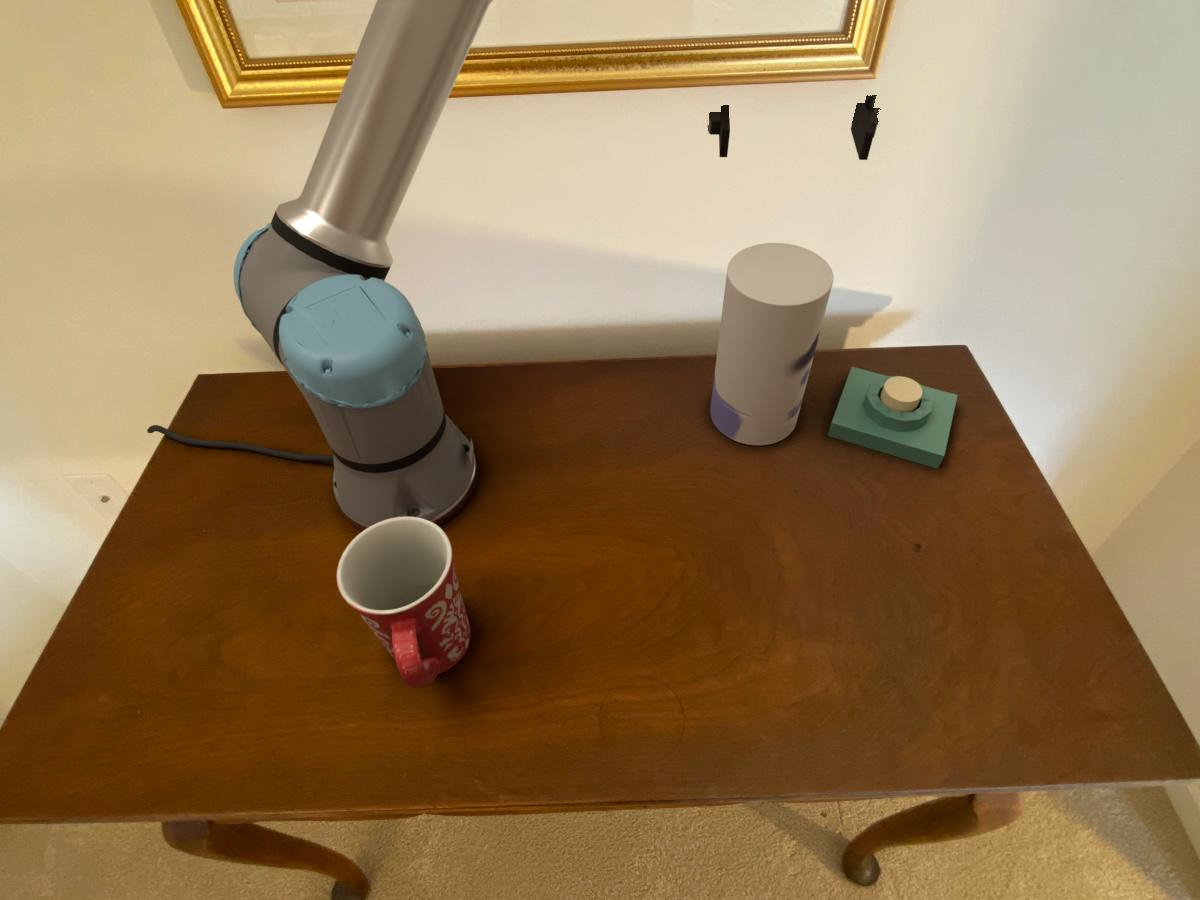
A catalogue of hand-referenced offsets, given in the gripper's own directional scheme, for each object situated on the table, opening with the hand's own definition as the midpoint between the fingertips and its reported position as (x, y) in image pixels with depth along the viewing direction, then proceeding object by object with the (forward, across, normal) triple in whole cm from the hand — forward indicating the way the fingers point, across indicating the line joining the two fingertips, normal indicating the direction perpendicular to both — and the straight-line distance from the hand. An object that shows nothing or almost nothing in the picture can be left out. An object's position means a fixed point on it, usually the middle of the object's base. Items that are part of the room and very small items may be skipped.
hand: (795, 145), depth 69 cm
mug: (+43, +31, -28) cm, 60 cm away
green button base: (+11, -15, -27) cm, 33 cm away
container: (+10, +1, -27) cm, 29 cm away
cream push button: (+11, -15, -24) cm, 30 cm away
